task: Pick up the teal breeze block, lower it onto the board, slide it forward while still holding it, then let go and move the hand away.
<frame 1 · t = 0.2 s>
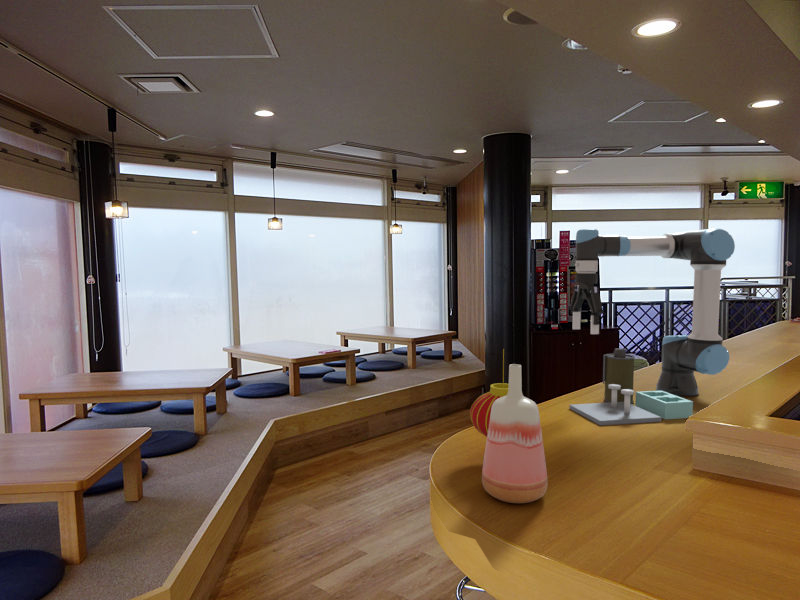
hand: (585, 331, 189), 28 cm above the worktop, fingers open, 13 cm apart
canister: (617, 401, 198), on the worktop
board: (613, 414, 181), on the worktop
teal breeze block: (662, 411, 184), on the worktop
lantern: (502, 461, 139), on the worktop
vase: (514, 495, 118), on the worktop
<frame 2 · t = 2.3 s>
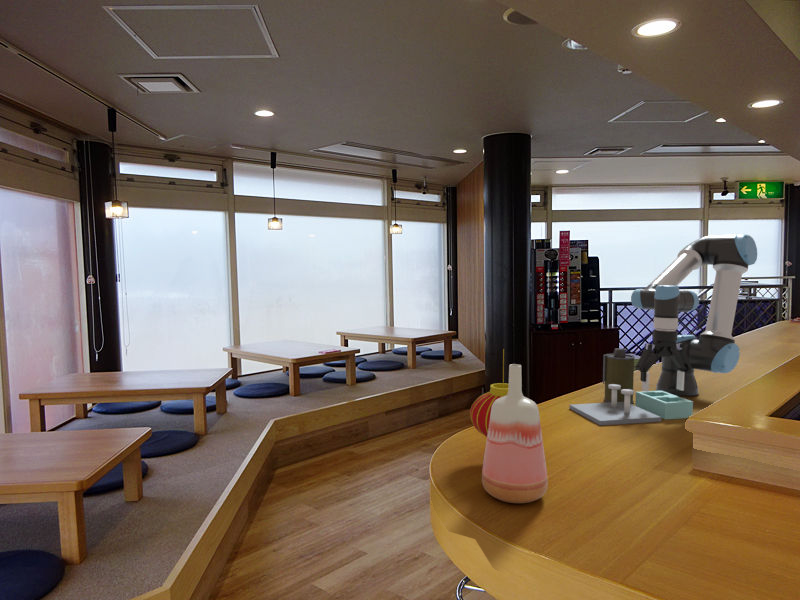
hand: (662, 390, 183), 8 cm above the worktop, fingers open, 13 cm apart
nothing on the worktop moved.
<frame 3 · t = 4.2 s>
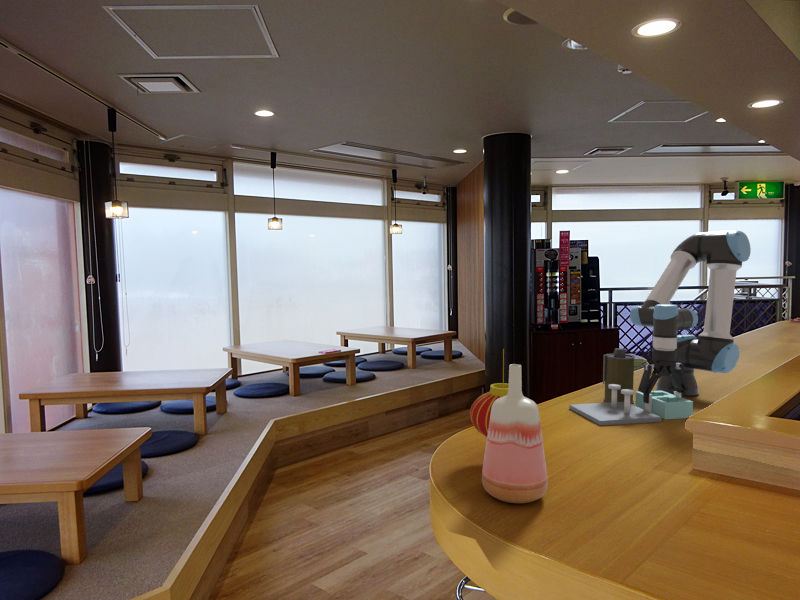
hand: (662, 411, 184), 0 cm above the worktop, fingers closed on teal breeze block, 11 cm apart
teal breeze block: (662, 411, 184), on the worktop, touching gripper
everything else where it was.
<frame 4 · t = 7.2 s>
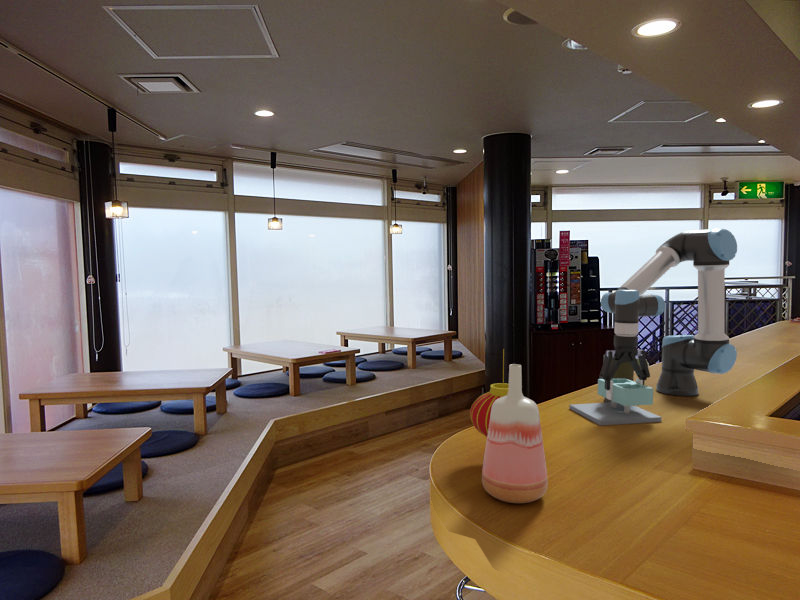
hand: (624, 398, 181), 6 cm above the worktop, fingers closed on teal breeze block, 10 cm apart
teal breeze block: (624, 399, 181), point 5 cm above the worktop, touching gripper
everything else where it was.
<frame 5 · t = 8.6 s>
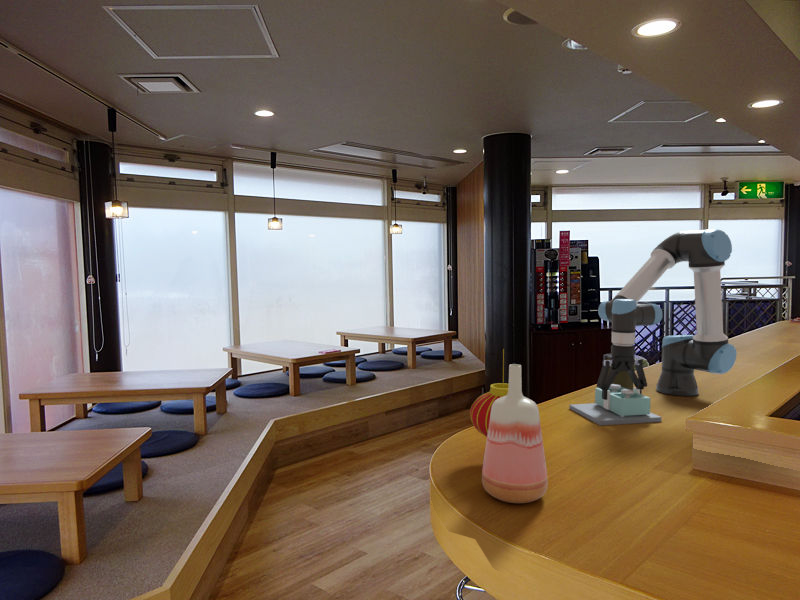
hand: (621, 407, 181), 2 cm above the worktop, fingers closed on teal breeze block, 10 cm apart
teal breeze block: (621, 408, 181), point 2 cm above the worktop, touching gripper
everything else where it was.
when the fingers open (2 cm above the worktop, at t = 9.7 s): teal breeze block stays where it is, resting on board.
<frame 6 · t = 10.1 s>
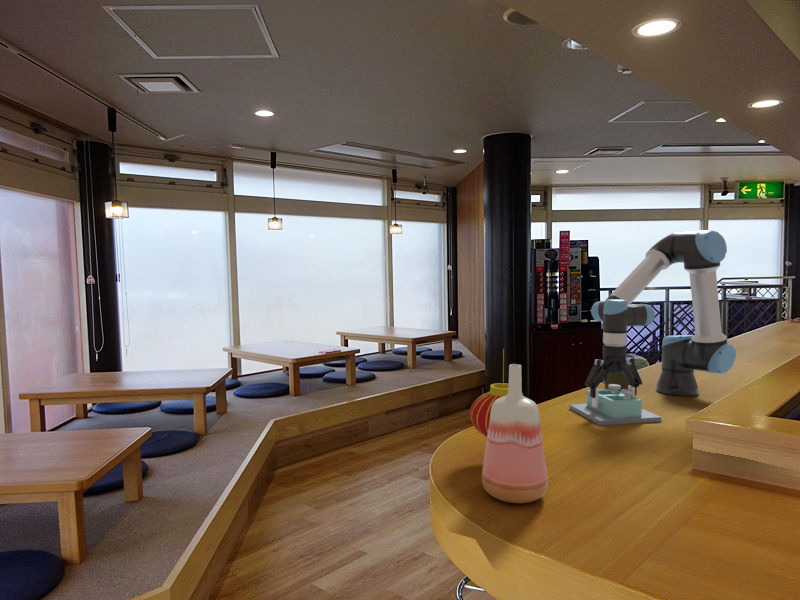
hand: (613, 406, 180), 3 cm above the worktop, fingers open, 13 cm apart
teal breeze block: (613, 410, 180), point 1 cm above the worktop, touching board
everything else where it was.
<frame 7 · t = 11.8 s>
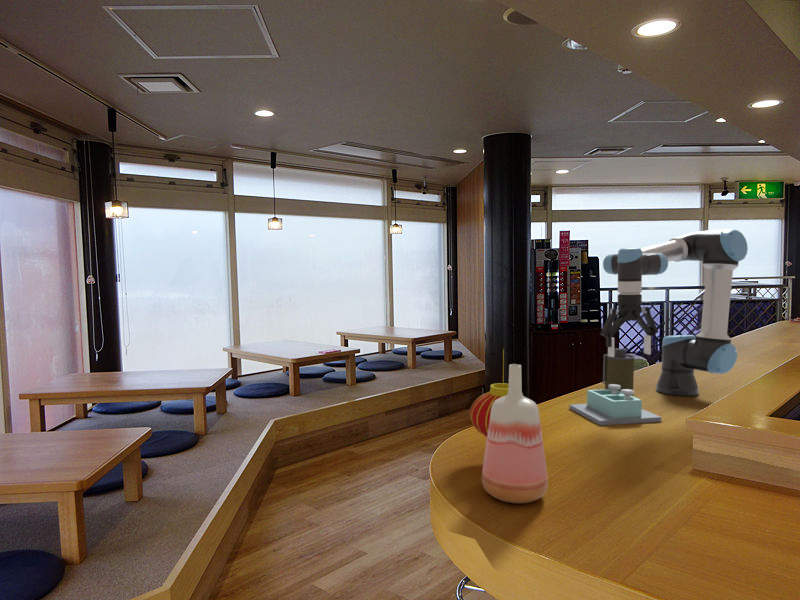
hand: (629, 355, 180), 21 cm above the worktop, fingers open, 13 cm apart
nothing on the worktop moved.
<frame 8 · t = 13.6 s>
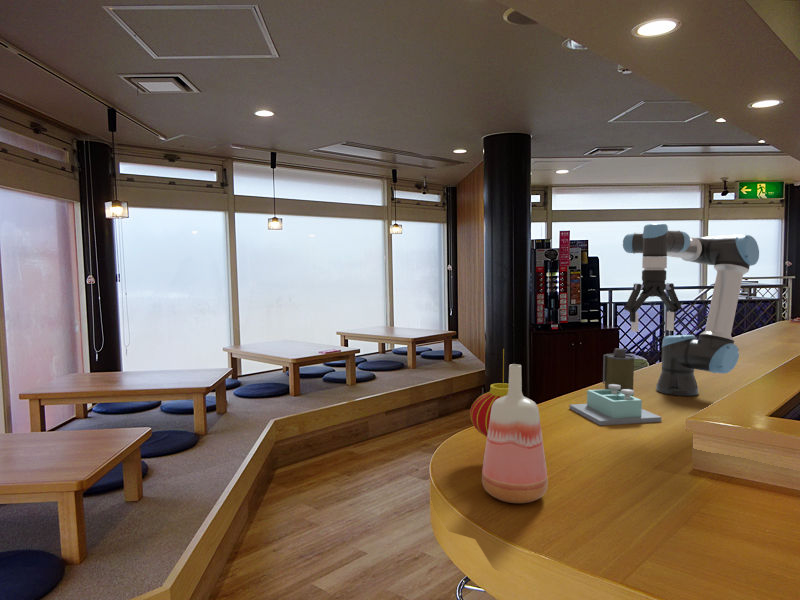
hand: (652, 331, 181), 29 cm above the worktop, fingers open, 13 cm apart
nothing on the worktop moved.
at the end: teal breeze block 0.3 cm off-centre on the board, point 1.5 cm above the board's base; teal breeze block tilted 0°; the gripper is holding nothing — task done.
